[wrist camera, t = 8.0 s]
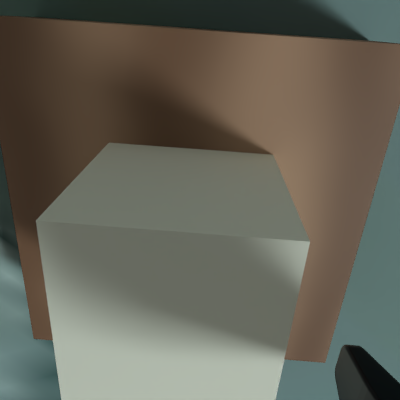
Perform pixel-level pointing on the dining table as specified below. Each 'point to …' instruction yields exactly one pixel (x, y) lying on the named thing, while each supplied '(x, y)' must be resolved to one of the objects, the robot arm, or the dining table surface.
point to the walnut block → (202, 129)
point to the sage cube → (172, 275)
